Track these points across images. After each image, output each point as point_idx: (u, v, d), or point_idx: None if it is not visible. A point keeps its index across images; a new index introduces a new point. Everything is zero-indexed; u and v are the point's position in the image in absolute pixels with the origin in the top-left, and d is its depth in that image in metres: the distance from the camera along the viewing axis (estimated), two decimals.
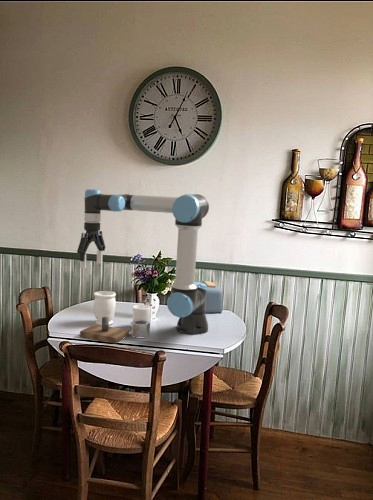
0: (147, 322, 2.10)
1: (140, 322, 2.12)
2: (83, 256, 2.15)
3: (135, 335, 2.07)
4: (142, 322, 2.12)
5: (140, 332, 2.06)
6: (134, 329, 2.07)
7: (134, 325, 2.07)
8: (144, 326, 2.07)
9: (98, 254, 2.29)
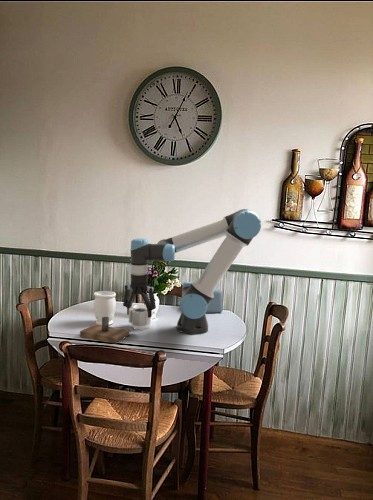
0: None
1: (139, 310, 2.12)
2: (128, 310, 2.10)
3: (135, 323, 2.07)
4: (141, 310, 2.12)
5: (140, 320, 2.06)
6: (134, 317, 2.06)
7: (134, 313, 2.06)
8: (144, 314, 2.06)
9: None
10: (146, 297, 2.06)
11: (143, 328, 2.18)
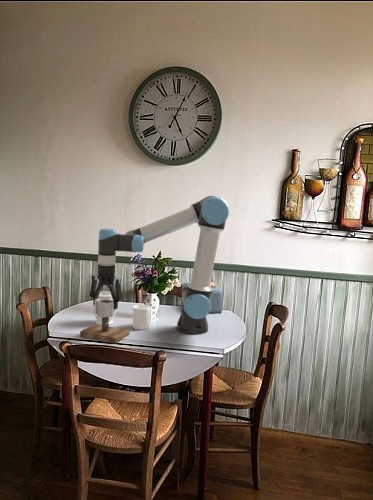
0: None
1: (106, 301, 2.08)
2: (94, 300, 2.06)
3: (100, 314, 2.03)
4: (108, 301, 2.08)
5: (105, 311, 2.02)
6: (99, 308, 2.03)
7: (99, 304, 2.02)
8: (110, 305, 2.02)
9: None
10: (113, 288, 2.02)
11: (143, 328, 2.18)
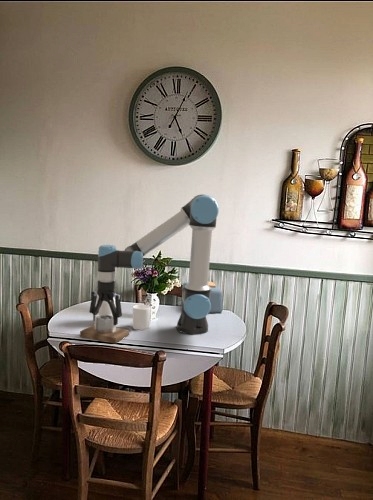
0: None
1: None
2: (94, 316, 2.07)
3: (100, 330, 2.04)
4: None
5: (105, 327, 2.03)
6: (99, 324, 2.04)
7: (99, 320, 2.04)
8: (109, 321, 2.03)
9: None
10: (112, 304, 2.03)
11: (143, 328, 2.18)
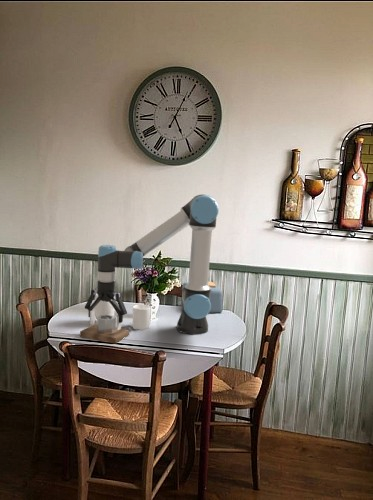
0: (113, 317, 2.07)
1: None
2: (89, 312, 2.08)
3: (100, 330, 2.04)
4: None
5: (105, 327, 2.03)
6: (99, 324, 2.04)
7: (99, 320, 2.04)
8: (109, 321, 2.03)
9: None
10: (114, 303, 2.03)
11: (143, 328, 2.18)
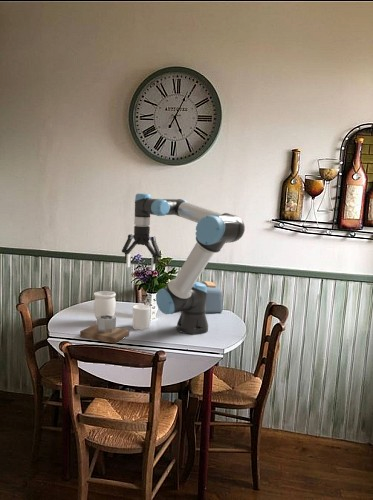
0: (113, 317, 2.07)
1: None
2: (126, 255, 2.28)
3: (100, 330, 2.04)
4: None
5: (105, 327, 2.03)
6: (99, 324, 2.04)
7: (99, 320, 2.04)
8: (109, 321, 2.03)
9: None
10: (149, 246, 2.23)
11: (143, 328, 2.18)
